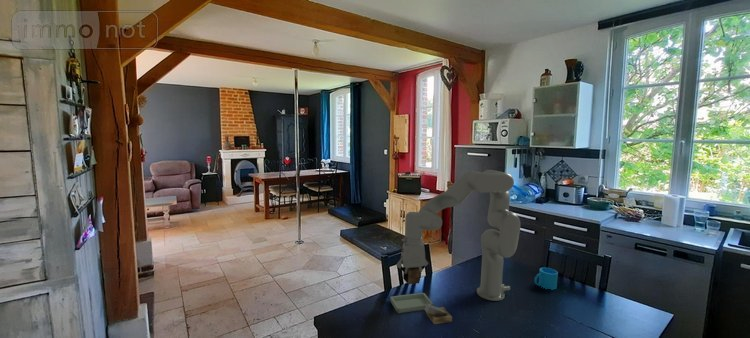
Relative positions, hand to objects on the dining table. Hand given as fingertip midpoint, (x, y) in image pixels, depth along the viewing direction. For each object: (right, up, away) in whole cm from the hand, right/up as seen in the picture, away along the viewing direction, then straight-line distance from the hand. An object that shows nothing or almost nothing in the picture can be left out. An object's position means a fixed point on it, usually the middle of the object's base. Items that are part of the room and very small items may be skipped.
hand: (411, 279), depth 141 cm
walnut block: (0, -1, 0) cm, 1 cm away
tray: (0, -12, +1) cm, 12 cm away
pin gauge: (+12, -12, -8) cm, 19 cm away
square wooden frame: (+10, -13, -8) cm, 18 cm away
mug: (+70, -11, +21) cm, 74 cm away
